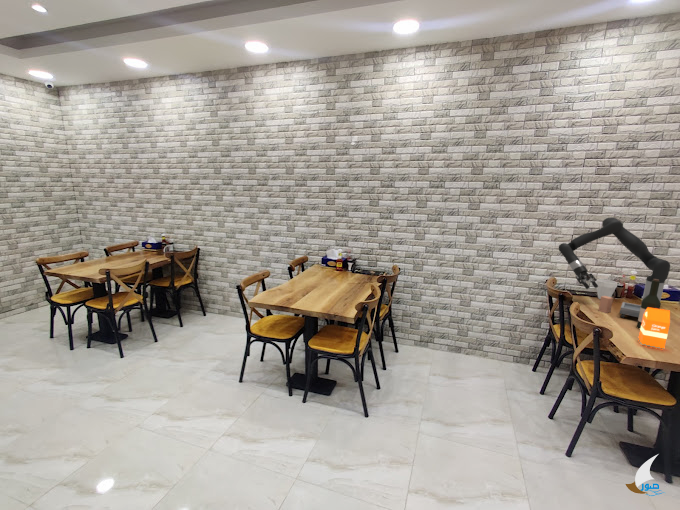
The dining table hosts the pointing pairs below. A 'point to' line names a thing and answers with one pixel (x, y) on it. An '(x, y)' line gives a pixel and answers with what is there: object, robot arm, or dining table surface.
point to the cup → (605, 287)
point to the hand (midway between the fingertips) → (592, 287)
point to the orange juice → (655, 327)
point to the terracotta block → (605, 304)
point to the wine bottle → (649, 301)
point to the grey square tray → (630, 309)
